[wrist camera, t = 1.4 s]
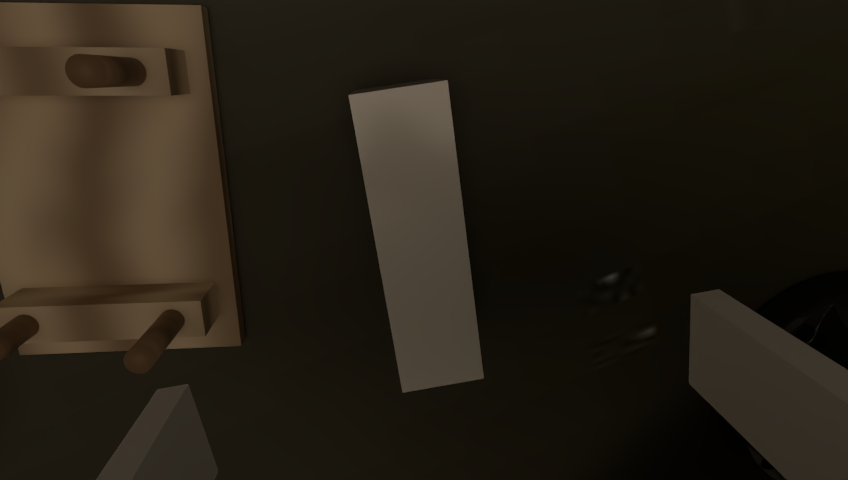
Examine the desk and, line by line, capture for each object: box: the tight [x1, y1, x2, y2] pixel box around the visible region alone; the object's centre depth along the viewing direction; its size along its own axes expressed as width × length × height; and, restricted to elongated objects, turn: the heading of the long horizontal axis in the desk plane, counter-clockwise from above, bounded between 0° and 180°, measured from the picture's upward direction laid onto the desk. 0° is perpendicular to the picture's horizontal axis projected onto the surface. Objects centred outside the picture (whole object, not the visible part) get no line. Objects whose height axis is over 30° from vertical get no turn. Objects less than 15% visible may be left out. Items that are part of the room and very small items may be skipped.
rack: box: [0, 2, 245, 374], centre depth 24 cm, size 12×18×8 cm, turn 0°
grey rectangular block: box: [349, 79, 484, 393], centre depth 26 cm, size 4×14×7 cm, turn 8°
